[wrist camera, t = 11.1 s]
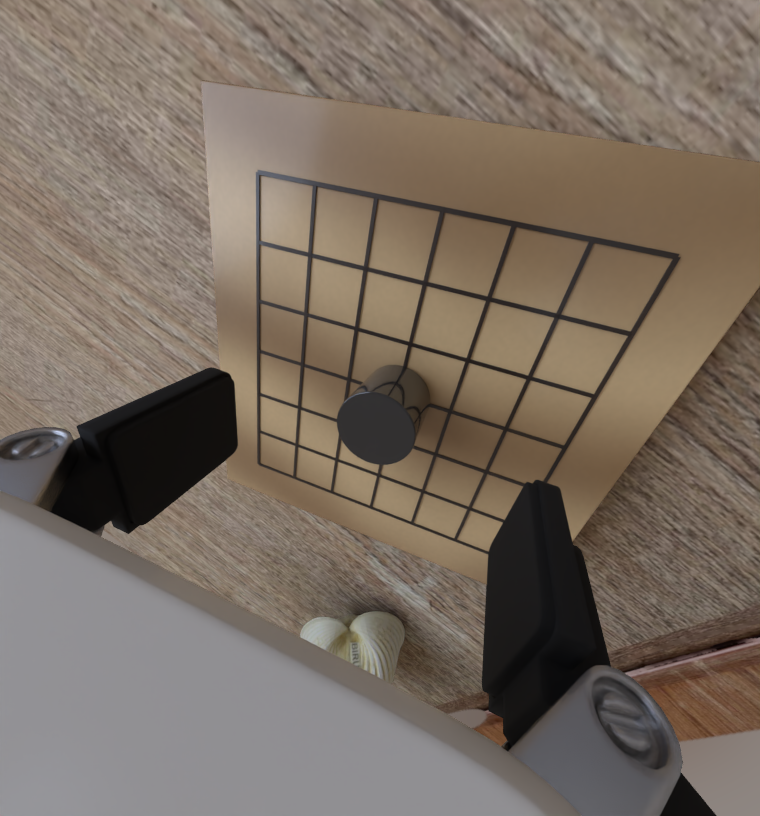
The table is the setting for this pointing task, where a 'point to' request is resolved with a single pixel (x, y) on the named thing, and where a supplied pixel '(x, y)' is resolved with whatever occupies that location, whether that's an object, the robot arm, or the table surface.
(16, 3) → the table surface
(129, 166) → the table surface
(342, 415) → the black stone
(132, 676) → the robot arm
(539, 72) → the table surface
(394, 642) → the seashell
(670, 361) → the board
